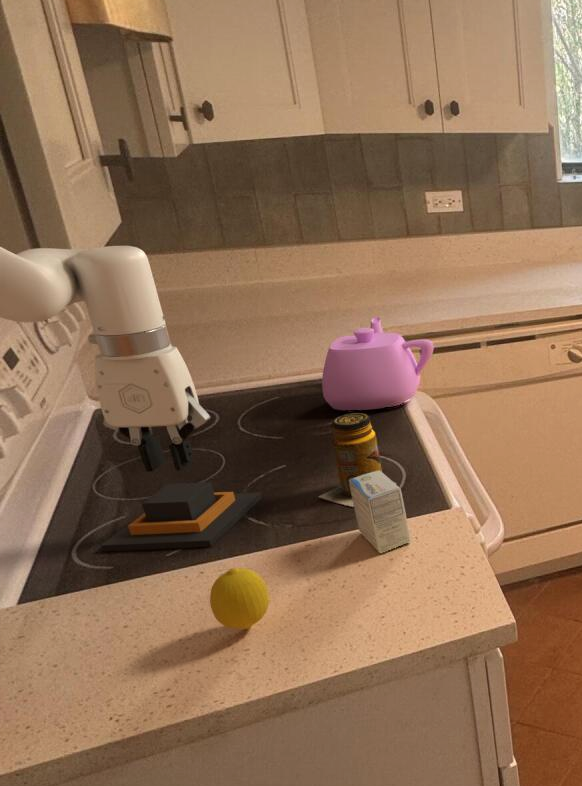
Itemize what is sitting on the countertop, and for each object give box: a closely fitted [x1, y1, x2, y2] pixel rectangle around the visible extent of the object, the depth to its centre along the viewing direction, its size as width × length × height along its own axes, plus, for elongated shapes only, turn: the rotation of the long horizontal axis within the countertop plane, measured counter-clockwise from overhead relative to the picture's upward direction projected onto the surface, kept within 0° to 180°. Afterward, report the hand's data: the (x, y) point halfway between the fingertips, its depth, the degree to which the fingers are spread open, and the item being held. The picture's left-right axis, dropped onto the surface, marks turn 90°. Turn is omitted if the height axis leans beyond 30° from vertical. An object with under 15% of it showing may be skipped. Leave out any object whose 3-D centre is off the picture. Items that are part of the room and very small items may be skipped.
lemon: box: [209, 567, 270, 630], centre depth 89 cm, size 6×6×8 cm
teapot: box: [321, 316, 435, 411], centre depth 159 cm, size 23×21×15 cm
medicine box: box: [349, 471, 412, 554], centre depth 107 cm, size 8×4×9 cm, turn 43°
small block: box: [141, 481, 216, 522], centre depth 112 cm, size 6×6×4 cm
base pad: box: [100, 491, 262, 552], centre depth 112 cm, size 14×14×2 cm
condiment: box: [317, 412, 397, 508], centre depth 120 cm, size 7×8×12 cm
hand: (170, 465), depth 110 cm, fingers open, 3 cm apart
